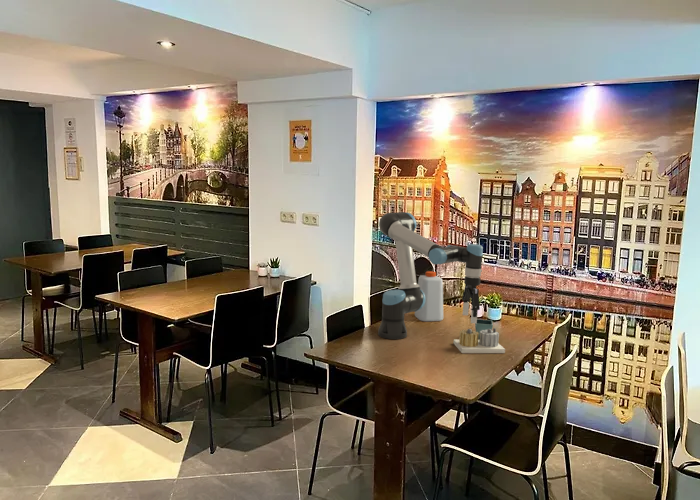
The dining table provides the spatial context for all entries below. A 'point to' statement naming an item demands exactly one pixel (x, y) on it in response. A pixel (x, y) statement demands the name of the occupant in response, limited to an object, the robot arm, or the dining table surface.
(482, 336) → the gear board
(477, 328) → the flower pot
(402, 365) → the dining table surface
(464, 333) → the brass gear
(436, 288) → the plastic bottle
